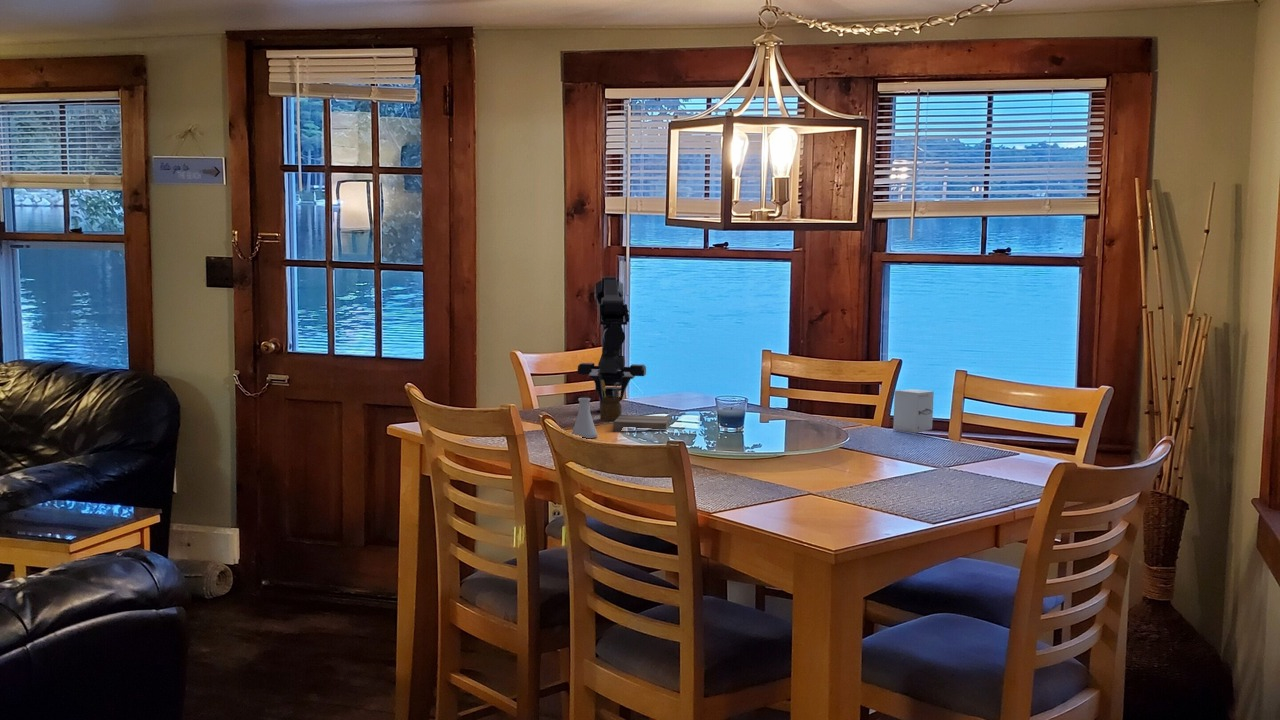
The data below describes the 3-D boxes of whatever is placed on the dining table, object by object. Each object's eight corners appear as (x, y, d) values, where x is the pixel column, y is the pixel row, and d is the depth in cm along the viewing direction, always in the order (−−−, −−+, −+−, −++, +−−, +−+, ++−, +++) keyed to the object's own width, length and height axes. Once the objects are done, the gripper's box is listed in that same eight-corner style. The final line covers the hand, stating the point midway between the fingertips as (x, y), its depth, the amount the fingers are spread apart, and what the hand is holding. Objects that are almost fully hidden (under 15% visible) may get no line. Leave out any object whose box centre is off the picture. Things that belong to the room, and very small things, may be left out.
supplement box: (916, 442, 291) (917, 392, 290) (892, 438, 297) (893, 390, 296) (932, 439, 296) (934, 390, 295) (908, 435, 302) (910, 388, 301)
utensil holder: (625, 422, 321) (626, 379, 320) (606, 423, 317) (607, 380, 316) (613, 419, 326) (614, 377, 325) (595, 420, 322) (596, 378, 321)
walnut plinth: (620, 423, 318) (620, 414, 318) (670, 425, 316) (670, 416, 316) (613, 431, 304) (613, 421, 304) (665, 432, 302) (665, 423, 302)
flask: (567, 435, 296) (567, 397, 295) (594, 434, 298) (594, 396, 297) (573, 439, 289) (574, 400, 288) (601, 438, 291) (601, 399, 291)
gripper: (574, 345, 313) (573, 402, 315) (642, 347, 311) (640, 404, 312) (581, 343, 324) (580, 397, 326) (646, 344, 322) (645, 400, 323)
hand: (611, 400), depth 322 cm, fingers closed on utensil holder, 5 cm apart
